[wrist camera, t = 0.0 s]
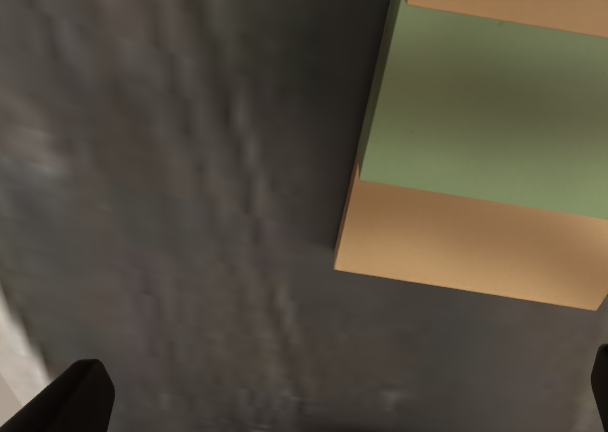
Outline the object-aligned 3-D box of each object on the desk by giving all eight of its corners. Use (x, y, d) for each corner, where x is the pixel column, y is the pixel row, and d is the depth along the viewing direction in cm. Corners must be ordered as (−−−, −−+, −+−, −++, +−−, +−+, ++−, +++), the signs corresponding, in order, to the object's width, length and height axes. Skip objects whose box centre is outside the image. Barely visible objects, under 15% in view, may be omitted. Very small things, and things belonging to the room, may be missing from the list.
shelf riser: (585, 290, 27) (622, 359, 23) (334, 250, 27) (331, 314, 23) (861, -164, 16) (1013, -169, 12) (442, -238, 16) (470, -265, 12)
